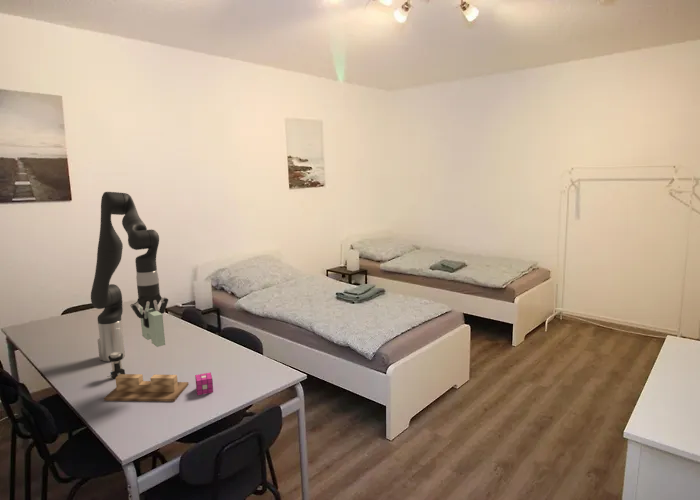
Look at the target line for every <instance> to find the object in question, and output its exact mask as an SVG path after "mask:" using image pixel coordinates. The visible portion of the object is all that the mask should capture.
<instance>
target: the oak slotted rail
mask: <svg viewBox="0 0 700 500" xmlns="http://www.w3.org/2000/svg"><path fill="white" fill-rule="evenodd" d="M143 378H144V375H143V374H139V373H129V374H127V373H125V374H119V375H118V376H117V377H116V378H115V388H114V389H112V391H111V392H109V393H108V394H106V396H104V397H103V401H108V402H109V401H110V402H111V401H112V402H117V401H118V402H176V400H177V399H178V398H179V397H180V395H181V394H182V393H183V392H184V391H185V389H186V388H187V387H188V386H189V382H187V381H178V374H153V375H152V376H151V377H150V378H149V379H150V380H144V379H143Z"/></svg>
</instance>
